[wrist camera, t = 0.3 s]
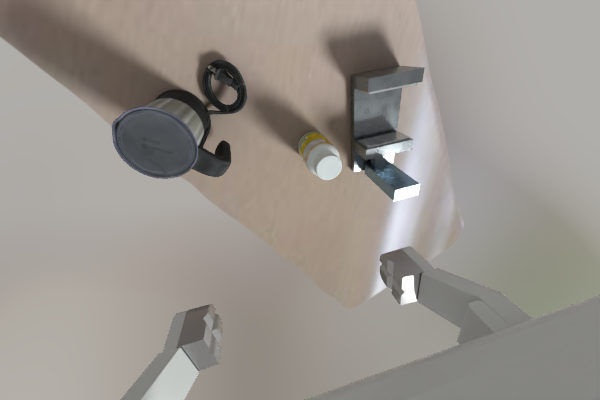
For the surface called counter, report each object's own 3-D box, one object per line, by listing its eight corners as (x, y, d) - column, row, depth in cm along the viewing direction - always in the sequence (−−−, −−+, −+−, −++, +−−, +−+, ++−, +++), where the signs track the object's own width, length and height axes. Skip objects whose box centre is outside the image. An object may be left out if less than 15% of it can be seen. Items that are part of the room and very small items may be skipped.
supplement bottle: (294, 135, 46) (308, 156, 36) (323, 127, 46) (345, 145, 37) (300, 163, 49) (314, 188, 40) (327, 155, 50) (347, 178, 40)
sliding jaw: (354, 139, 47) (385, 162, 37) (397, 129, 48) (439, 149, 38) (354, 175, 52) (381, 204, 42) (393, 165, 53) (429, 191, 43)
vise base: (350, 75, 42) (368, 78, 36) (399, 65, 43) (424, 67, 37) (351, 169, 53) (364, 183, 47) (389, 160, 54) (407, 172, 48)
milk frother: (150, 134, 40) (112, 170, 28) (155, 32, 32) (107, 20, 20) (232, 155, 45) (229, 193, 33) (251, 71, 38) (258, 79, 26)
